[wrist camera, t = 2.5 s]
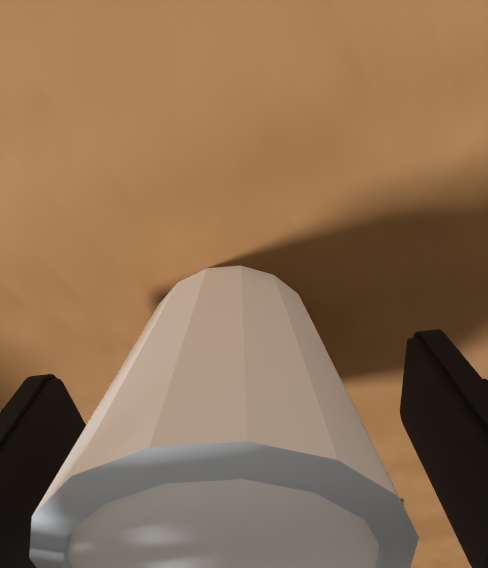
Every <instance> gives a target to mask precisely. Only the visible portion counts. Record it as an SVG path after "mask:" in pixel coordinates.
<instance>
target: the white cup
mask: <svg viewBox="0 0 488 568" xmlns="http://www.w3.org/2000/svg"><path fill="white" fill-rule="evenodd" d="M418 539H419V537H418V535H417V533H416V531H415V529H414V527H413V525H412V523H411V521H410V519H409V516H408V514H407V512H406V510H405V508H404V506H403V504H402V502H401V500H400V498H399V496H398V494H397V492H396V490H395V488H394V486H393V484H392V482H391V480H390V478H389V476H388V474H387V472H386V470H385V468H384V466H383V464H382V462H381V460H380V458H379V456H378V454H377V452H376V450H375V448H374V446H373V444H372V442H371V440H370V438H369V436H368V434H367V431H366V429H365V427H364V425H363V423H362V421H361V419H360V417H359V415H358V413H357V411H356V409H355V407H354V405H353V403H352V401H351V399H350V397H349V395H348V393H347V391H346V389H345V387H344V385H343V383H342V381H341V379H340V377H339V375H338V373H337V371H336V369H335V367H334V365H333V363H332V361H331V359H330V357H329V355H328V353H327V351H326V348H325V346H324V344H323V342H322V340H321V338H320V336H319V334H318V332H317V330H316V328H315V326H314V324H313V322H312V320H311V318H310V316H309V314H308V312H307V310H306V308H305V306H304V304H303V302H302V300H301V298H300V296H299V294H298V293H296V292H295V291H294V290H293V289H291V288H290V287H289V286H287V285H286V284H285V283H284V282H282V281H281V280H280V279H279V278H277V277H276V276H275V275H273V274H269V273H266V272H262V271H259V270H255V269H252V268H248V267H245V266H229V267H216V268H206V269H204V270H202V271H200V272H198V273H196V274H194V275H192V276H190V277H188V278H185V279H183V280H181V281H179V282H177V284H176V285H175V286H174V287H173V288H172V289H171V291H170V292H169V293H168V294H167V295H166V296H165V298H164V299H163V300H162V301H161V302H160V303H159V305H158V306H157V308H156V310H155V311H154V313H153V315H152V316H151V318H150V320H149V321H148V323H147V325H146V326H145V328H144V330H143V331H142V333H141V335H140V337H139V338H138V340H137V342H136V343H135V345H134V347H133V348H132V350H131V352H130V353H129V355H128V357H127V358H126V360H125V362H124V363H123V365H122V367H121V368H120V370H119V372H118V373H117V375H116V377H115V378H114V380H113V382H112V383H111V385H110V387H109V388H108V390H107V392H106V393H105V395H104V397H103V398H102V400H101V402H100V403H99V405H98V407H97V408H96V410H95V412H94V413H93V415H92V417H91V418H90V420H89V422H88V423H87V425H86V427H85V428H84V430H83V432H82V433H81V435H80V437H79V438H78V440H77V442H76V443H75V445H74V447H73V448H72V450H71V452H70V453H69V455H68V457H67V458H66V460H65V462H64V463H63V465H62V467H61V468H60V470H59V472H58V473H57V475H56V477H55V478H54V480H53V482H52V483H51V485H50V487H49V488H48V490H47V492H46V493H45V495H44V497H43V498H42V500H41V502H40V504H39V505H38V507H37V509H36V510H35V512H34V514H33V515H32V520H31V537H30V553H29V558H30V560H31V561H32V562H33V564H34V565H35V566H36V568H410V566H411V563H412V559H413V556H414V552H415V549H416V546H417V542H418Z"/></svg>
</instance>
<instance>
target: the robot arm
mask: <svg viewBox="0 0 488 568" xmlns="http://www.w3.org/2000/svg"><path fill="white" fill-rule="evenodd" d="M400 416H401V420H402V423H403V425H404V427H405V429H406V432H407V434H408V436H409V438H410V440H411V442H412V444H413V446H414V448H415V450H416V452H417V454H418V457H419V459H420V461H421V463H422V465H423V467H424V469H425V471H426V473H427V475H428V477H429V480H430V482H431V484H432V486H433V488H434V490H435V492H436V494H437V496H438V498H439V500H440V502H441V505H442V507H443V509H444V511H445V513H446V515H447V517H448V519H449V521H450V523H451V525H452V528H453V530H454V532H455V534H456V536H457V538H458V540H459V542H460V544H461V546H462V548H463V551H464V553H465V555H466V557H467V559H468V561H469V563H470V565H471V566H472V568H488V380H487V379H482V378H481V377H480V376H479V374H478V373H477V372H476V371H475V370H474V368H473V367H472V366H471V365H470V364H469V362H468V361H467V360H466V359H465V357H464V356H463V355H462V354H461V353H460V351H459V350H458V349H457V348H456V347H455V345H454V344H453V343H452V342H451V341H450V339H449V338H448V337H447V336H446V335H445V333H444V332H443V331H441V330H439V329H438V330H429V331H420V332H415V334H414V336H413V338H410V339H408V340H407V346H406V356H405V366H404V376H403V385H402V395H401V405H400ZM85 427H86V424H85V423H84V421H83V419H82V417H81V415H80V413H79V412H78V410H77V408H76V406H75V404H74V402H73V400H72V399H71V397H70V395H69V393H68V391H67V389H66V388H65V386H64V384H63V382H62V381H61V380H60V379H57V378H56V377H55V376H54V375H52V374H47V375H38V376H30V377H28V378H27V379H26V380H25V381H24V382H23V383H22V385H21V386H20V387H19V389H18V390H17V391H16V393H15V394H14V395H13V397H12V398H11V399H10V401H9V402H8V403H7V405H6V406H5V407H4V409H3V410H2V411H1V412H0V568H36V566H35V565H34V564H33V562H32V561H31V560H30V558H29V553H30V537H31V520H32V515H33V514H34V512H35V510H36V509H37V507H38V505H39V504H40V502H41V500H42V498H43V497H44V495H45V493H46V492H47V490H48V488H49V487H50V485H51V483H52V482H53V480H54V478H55V477H56V475H57V473H58V472H59V470H60V468H61V467H62V465H63V463H64V462H65V460H66V458H67V457H68V455H69V453H70V452H71V450H72V448H73V447H74V445H75V443H76V442H77V440H78V438H79V437H80V435H81V433H82V432H83V430H84V428H85Z"/></svg>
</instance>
